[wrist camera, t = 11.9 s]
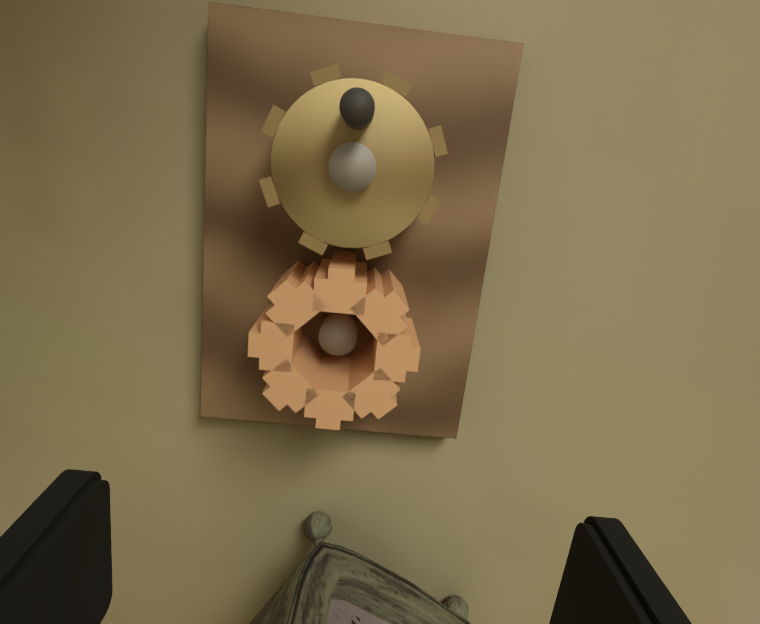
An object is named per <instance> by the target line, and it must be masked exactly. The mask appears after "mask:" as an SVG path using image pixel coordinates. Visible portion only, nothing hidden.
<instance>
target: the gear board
mask: <svg viewBox="0 0 760 624" xmlns="http://www.w3.org/2000/svg"><path fill="white" fill-rule="evenodd" d="M523 45H524V43H516V42H509V41H501V40H494V39H486V38H478V37H471V36H463V35H456V34H448V33H440V32H433V31H425V30H418V29H410V28H402V27H395V26H387V25H380V24H372V23H364V22H357V21H349V20H342V19H334V18H326V17H319V16H311V15H304V14H296V13H288V12H281V11H273V10H266V9H258V8H250V7H243V6H235V5H228V4H220V3H212V2H209V7H208V59H207V111H206V163H205V215H204V267H203V319H202V370H201V416H203V417H214V418H226V419H237V420H248V421H260V422H271V423H283V424H294V425H305V426H316V418H309V417H304V410H305V406H304V407H303V408H302V409H300V410H299V411H298V412H296V413H295V412H294V411H293V410H292V409H291V408H290V407H289V406H288V405H286V406H285V407H284V408H282V409H281V410H280V411H278V410H277V409H276V407H275V406H274V405H273V404H272V403H271V402H270V401H269V400H268V399H267V398H266V397H265V396H264V395H263V394H262V393H263V391H264V388H265V386H266V384H267V383H266V382H265V381H264V380H263V378H262V377H263V375H264V373H265V371H266V370H259V358H256V357H248V337H249V331H250V330H251V329H252V327H253V326H254V324H255V323H256V321H257V320H258V318H259V317H260V315H261V314H262V312H263V311H264V309H265V308H266V306H267V305H271V304H272V301H271V300H270V299H269V298H268V297H267V296H268V294H269V293H270V291H271V290H272V289H273V287H274V286H275V284H276V283H277V282H278V280H279V279H280V278H281V276H282V275H283V273H285V272H286V271H287V270H288V269H290V268H291V267H292V266H293V265H294V264H296V263H297V262H298V261H299V260H300V261H301V262H302V263H303V264H304V265H305V267H306V268H307V267H308V266H309V265H310V264H312V263H313V262H314V261H315V262H316V263H317V264H318V265H319V266H320V264H321V262H322V259H332V256H333V253H334V250H343V251H353V252H357V256H356V262H363V263H367V272H368V271H370V270H371V269H372V268H373V267H375V268H376V270H377V271H378V272H379V273H380V274H381V275H382V274H383V273H384V272H386V271H387V270H388V269H389V270H390V271H391V272H392V273H393V275H394V276H395V277H396V278H397V279H398V281H399V282H400V283H401V284H402V286H403V289H404V293H405V296H406V300H407V303H408V306H409V311H408V312H406V313H405V315H406V318H412V320H413V324H414V327H415V331H416V334H417V338H418V341H419V345H420V348H421V350H420V357H419V365H418V372H411V371H406V376H405V383H404V382H399V386H400V391H398V392H397V393H396V399H397V406H396V407H394V408H393V409H392V410H390V411H389V412H388V413H386V414H385V415H384V416H382V417H381V418H380V419H377V418H376V416H375V415H374V414H373V413H372V412H370V413H369V414H367V415H366V416H365V417H363V418H362V419H361V417H360V416H359V415H358V414H357V413H356V412H355V411H354V415H353V421H344V420H341V422H340V429H351V430H363V431H374V432H385V433H397V434H408V435H420V436H431V437H442V438H454V439H456V437H457V431H458V426H459V420H460V414H461V408H462V402H463V396H464V390H465V385H466V379H467V373H468V367H469V361H470V355H471V349H472V344H473V338H474V332H475V326H476V320H477V314H478V308H479V303H480V297H481V291H482V285H483V279H484V273H485V267H486V262H487V256H488V250H489V244H490V238H491V232H492V226H493V221H494V215H495V209H496V203H497V197H498V191H499V185H500V180H501V174H502V168H503V162H504V156H505V150H506V144H507V139H508V133H509V127H510V121H511V115H512V109H513V103H514V98H515V92H516V86H517V80H518V74H519V68H520V62H521V57H522V51H523ZM303 332H304V333H305V334H306V336H307V337H308V338H309V339H310V340H311V341H312V342H313V343H314V344H315V346H316V347H317V348H318V349H319V350H320V351H321V352H322V353H327V354H332V355H336V356H340V355H349V356H351V355H352V354H353V353H355V352H356V351H357V350H359V349H360V348H361V347H362V346H364V345H365V344H366V343H368V342H369V341H370V340H372V339H373V334H372V333H371V332H370V331H369V330H368V329H367V327H366V326H365V325H364V324H363V323H362V322H361V320H360V319H359V318H358V317H357V316H356V315H354V314H344V313H333V312H323V311H320V312H319V313H317V314H316V315H315V316H314V317H312V318H311V319H310V320H309V321H307V322H306V323H305V324H304V331H303Z"/></svg>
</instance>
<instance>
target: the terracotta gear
mask: <svg viewBox="0 0 760 624" xmlns="http://www.w3.org/2000/svg"><path fill="white" fill-rule="evenodd" d="M356 256H357V252H353V251H343V250H334V253H333V256H332V259H322V262H321V264H320V266H319V265H318V264H317V263H316V262H315V261H314V262H313V263H312V264H310V265H309V266H308V267H307V268H306V267H305V265H304V264H303V263H302V262H301V261H300V260H299V261H298V262H297V263H296V264H294V265H293V266H292V267H291V268H290V269H288V270H287V271H286V272H285V273H283V275H282V276H281V278H280V279H279V280H278V282H277V283H276V284H275V286H274V287H273V289H272V290H271V291H270V293H269V294H268V296H267V297H268V298H269V299H270V300H271V301H272V304H271V305H267V306H266V308H265V309H264V311H263V312H262V314H261V315H260V317H259V318H258V320H257V321H256V323H255V324H254V326H253V327H252V329H251V330H250V331H249V337H248V357H256V358H259V370H266V371H265V373H264V375H263V377H262V378H263V380H264V381H265V382H266V383H267V384H266V386H265V388H264V391H263V393H262V394H263V395H264V396H265V397H266V398H267V399H268V400H269V401H270V402H271V403H272V404H273V405H274V406H275V407H276V409H277V410H278V411H280V410H281V409H282V408H284V407H285V406H286V405H288V406H289V407H290V408H291V409H292V410H293V411H294V412H295V413H296V412H298V411H299V410H300V409H302V408H303V407H304V406H305V410H304V417H309V418H316V427H315V428H320V429H332V430H340V422H341V420H344V421H353V415H354V411H355V412H356V413H357V414H358V415H359V416H360V417H361V419H362V418H363V417H365V416H366V415H367V414H369V413H370V412H372V413H373V414H374V415H375V416H376V418H377V419H380V418H381V417H382V416H384V415H385V414H386V413H388V412H389V411H390V410H392V409H393V408H394V407H396V406H397V399H396V393H397V392H398V391H400V386H399V382H404V383H405V376H406V371H411V372H418V365H419V357H420V350H421V348H420V345H419V341H418V338H417V334H416V331H415V327H414V324H413V320H412V318H406V315H405V313H406V312H408V311H409V306H408V303H407V300H406V296H405V293H404V289H403V286H402V284H401V283H400V282H399V281H398V279H397V278H396V277H395V276H394V275H393V273H392V272H391V271H390V270H389V269H388V270H387V271H386V272H384V273H383V274H382V275H381V274H380V273H379V272H378V271H377V270H376V268H375V267H373V268H372V269H371V270H370V271H368V272H367V263H363V262H356ZM320 311H323V312H333V313H344V314H354V315H356V316H357V317H358V318H359V319H360V320H361V322H362V323H363V324H364V325H365V326H366V327H367V329H368V330H369V331H370V332H371V333H372V334H373V339H372V340H370V341H369V342H368V343H366V344H365V345H364V346H362V347H361V348H360V349H359V350H357V351H356V352H355V353H353V354H352V355H351V356H349V355H340V356H336V355H332V354H327V353H322V352H321V351H320V350H319V349H318V348H317V347H316V346H315V344H314V343H313V342H312V341H311V340H310V339H309V338H308V337H307V336H306V334H305V333H304V332H303V331H304V324H305V323H306V322H307V321H309V320H310V319H311V318H312V317H314V316H315V315H316V314H317V313H319V312H320Z"/></svg>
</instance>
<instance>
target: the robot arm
mask: <svg viewBox="0 0 760 624" xmlns="http://www.w3.org/2000/svg"><path fill="white" fill-rule="evenodd" d="M111 597H112V558H111V521H110V487H109V483H108V481H106V480H101V475H100V473H98V472H94V471H82V470H71V469H68V470H65V471H63V472H62V473H61V474H60V475H59V476H58V477H57V478H56V479H55V480H54V481H53V482H52V483H51V485H50V486H49V487H48V488H47V489H46V490H45V491H44V492H43V493H42V494H41V495H40V496H39V497H38V498H37V499H36V500H35V501H34V502H33V503H32V504H31V506H30V507H29V508H28V509H27V510H26V511H25V512H24V513H23V514H22V515H21V516H20V517H19V518H18V519H17V520H16V521H15V522H14V523H13V524H12V525H11V527H10V528H9V529H8V530H7V531H6V532H5V533H4V534H3V535H2V536H1V537H0V624H100V623H101V621H102V620H103V618H104V616H105V614H106V612H107V610H108V608H109V605H110V601H111ZM549 624H692V623H691V622H690V621H689V619H688V618H687V616H686V615H685V613H684V612H683V610H682V609H681V608H680V606H679V605H678V603H677V602H676V600H675V599H674V598H673V596H672V595H671V593H670V592H669V590H668V589H667V587H666V586H665V585H664V583H663V582H662V580H661V579H660V577H659V576H658V574H657V573H656V572H655V570H654V569H653V567H652V566H651V564H650V563H649V561H648V560H647V559H646V557H645V556H644V554H643V553H642V551H641V550H640V548H639V547H638V546H637V544H636V543H635V541H634V540H633V538H632V537H631V536H630V534H629V533H628V531H627V530H626V528H625V527H624V525H623V524H622V523H621V522H620V521H619V520H618V519H615V518H604V517H593V516H589V517H587V518H586V519H585V521H584V523H579V524H578V525H577V526H576V529H575V532H574V536H573V540H572V543H571V547H570V550H569V554H568V558H567V561H566V565H565V569H564V572H563V576H562V580H561V583H560V587H559V590H558V594H557V598H556V601H555V605H554V609H553V612H552V616H551V619H550V623H549Z"/></svg>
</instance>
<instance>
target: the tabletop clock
mask: <svg viewBox="0 0 760 624" xmlns="http://www.w3.org/2000/svg"><path fill="white" fill-rule="evenodd" d="M331 528H332V526H331V519H330V518H329V516H328V515H327V514H325V513H323V512H314V513H313V514H311V515H310V516H309V517H308V518H307V519H306V521H305V532H306V535H307V536H308V537H309V538H310V539H312V540H314V541H315V542H314V549H313V550H312V552H311V553H310V554H309V555H308V556H307V557H306V558H305V560H304V561H303V562H302V563H301V564H300V565H299V567H298V568H297V569H296V570H295V571H294V572H293V574H292V575H291V576H290V577H289V578H288V579H287V581H286V582H285V583H284V584H283V585H282V586H281V587H280V589H279V590H278V591H277V592H276V593H275V594H274V596H273V597H272V598H271V599H270V600H269V601H268V603H267V604H266V605H265V606H264V607H263V608H262V610H261V611H260V612H259V613H258V614H257V615H256V616H255V618H254V619H253V620H252V621H251V622H250V623H249V624H470V623H469V622H468V621H467V617H468V612H469V609H468V605H467V603H466V602H465V601H464V600H463V599H462V598H461V597H458V596H452V597H450V598H448V599H447V600H446V601H445V604H442V603H441V602H439V601H438V600H436V599H435V598H433V597H432V596H430V595H429V594H427V593H426V592H424V591H423V590H421V589H420V588H419V587H417V586H416V585H414V584H413V583H411V582H409V581H408V580H406V579H404V578H402V577H400V576H398V575H397V574H395V573H393V572H391V571H389V570H387V569H386V568H384V567H382V566H380V565H378V564H376V563H375V562H373V561H371V560H369V559H367V558H365V557H363V556H361V555H360V554H358V553H356V552H354V551H351V550H349V549H346V548H344V547H341V546H338V545H333V544H329V543H324V541H323V539H325V538H326V537H327V536H328V535H329V534H330V532H331Z"/></svg>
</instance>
